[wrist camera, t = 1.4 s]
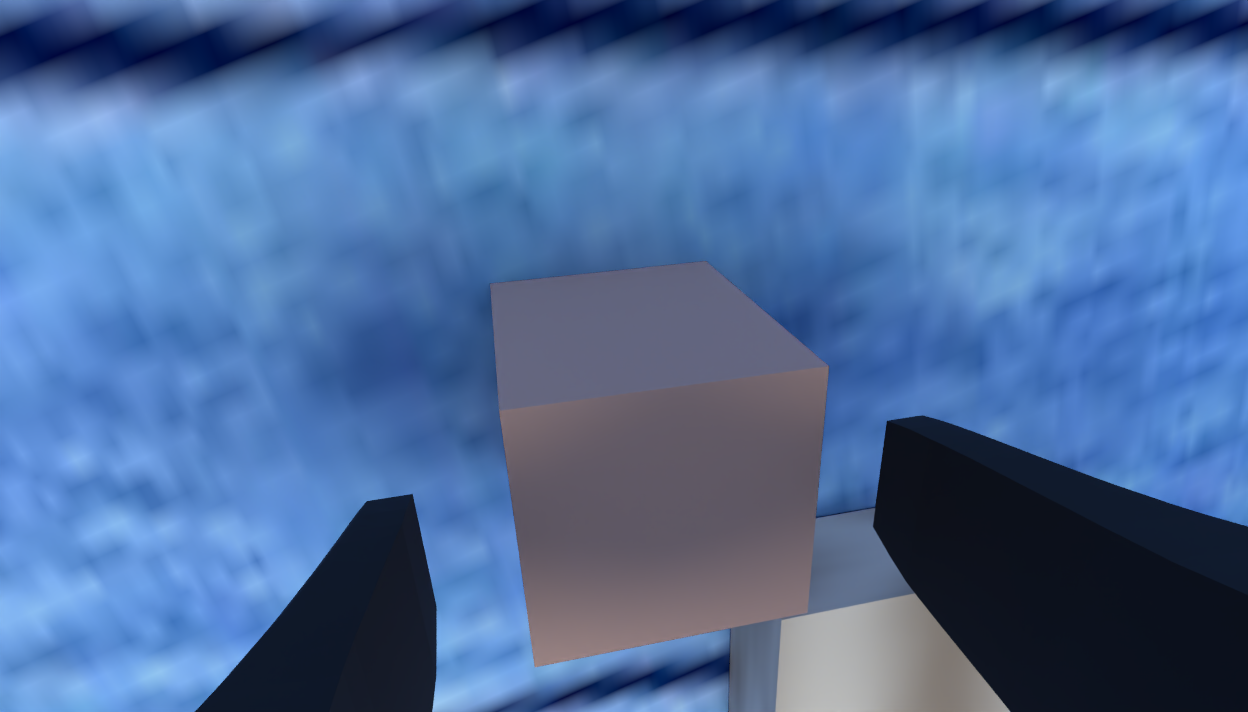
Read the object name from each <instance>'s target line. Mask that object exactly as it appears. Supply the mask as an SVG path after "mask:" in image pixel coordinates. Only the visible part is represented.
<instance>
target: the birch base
mask: <svg viewBox="0 0 1248 712" xmlns="http://www.w3.org/2000/svg"><path fill="white" fill-rule="evenodd" d="M874 514H875V508H871V509H865V510H860V511H854V512H848V513H843V514H837V515H831V516H826V517H820V518H816V521H815V533H814V544H813V555H812V567H811V578H810V590H809V601H808V612H807V613H804V614H799V615H794V616H789V617H784V618H779V619H774V620H769V621H764V622H759V623H754V624H749V625H744V626H739V627H734V628H731V640H730V677H729V712H1010V711H1009V709H1008V708H1007V707H1006V706H1005V704H1004V703H1003V702H1002V701H1001V699H1000V698H999V697H998V696H997V695H996V693H995V692H994V691H993V690H992V688H991V687H990V686H989V685H988V683H987V682H986V681H985V680H984V679H983V677H982V676H981V675H980V674H979V672H978V671H977V670H976V669H975V667H974V666H973V665H972V664H971V663H970V661H969V660H968V659H967V658H966V656H965V655H964V654H963V653H962V651H961V650H960V649H959V648H958V647H957V645H956V644H955V643H954V642H953V640H952V639H951V638H950V637H949V635H948V634H947V633H946V632H945V631H944V629H943V628H942V627H941V626H940V624H939V623H938V622H937V621H936V619H935V618H934V617H933V616H932V614H931V613H930V612H929V611H928V609H927V608H926V607H925V606H924V604H923V603H922V602H921V600H920V599H919V598H918V597H917V595H916V594H915V593H914V592H913V590H912V589H911V588H910V586H909V585H908V584H907V582H906V581H905V579H904V578H903V576H902V575H901V573H900V572H899V570H898V568H897V567H896V565H895V564H894V562H893V560H892V559H891V557H890V556H889V554H888V552H887V550H886V549H885V547H884V545H883V544H882V542H881V540H880V538H879V537H878V535H877V533H876V531H875V530H874V528H873V521H874Z"/></svg>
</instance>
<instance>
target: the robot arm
mask: <svg viewBox="0 0 1248 712" xmlns="http://www.w3.org/2000/svg"><path fill="white" fill-rule="evenodd" d="M873 528H874V530H875V531H876V533H877V535H878V537H879V538H880V540H881V542H882V544H883V545H884V547H885V549H886V550H887V552H888V554H889V556H890V557H891V559H892V560H893V562H894V564H895V565H896V567H897V568H898V570H899V572H900V573H901V575H902V576H903V578H904V579H905V581H906V582H907V584H908V585H909V586H910V588H911V589H912V590H913V592H914V593H915V594H916V595H917V597H918V598H919V599H920V600H921V602H922V603H923V604H924V606H925V607H926V608H927V609H928V611H929V612H930V613H931V614H932V616H933V617H934V618H935V619H936V621H937V622H938V623H939V624H940V626H941V627H942V628H943V629H944V631H945V632H946V633H947V634H948V635H949V637H950V638H951V639H952V640H953V642H954V643H955V644H956V645H957V647H958V648H959V649H960V650H961V651H962V653H963V654H964V655H965V656H966V658H967V659H968V660H969V661H970V663H971V664H972V665H973V666H974V667H975V669H976V670H977V671H978V672H979V674H980V675H981V676H982V677H983V679H984V680H985V681H986V682H987V683H988V685H989V686H990V687H991V688H992V690H993V691H994V692H995V693H996V695H997V696H998V697H999V698H1000V699H1001V701H1002V702H1003V703H1004V704H1005V706H1006V707H1007V708H1008V709H1009V711H1010V712H1248V527H1247V526H1244V525H1240V524H1237V523H1233V522H1230V521H1226V520H1222V519H1219V518H1215V517H1212V516H1208V515H1205V514H1202V513H1198V512H1195V511H1192V510H1189V509H1186V508H1182V507H1179V506H1176V505H1173V504H1170V503H1167V502H1164V501H1161V500H1158V499H1155V498H1152V497H1149V496H1146V495H1143V494H1140V493H1137V492H1134V491H1131V490H1128V489H1125V488H1123V487H1120V486H1117V485H1114V484H1111V483H1108V482H1105V481H1103V480H1100V479H1097V478H1094V477H1092V476H1089V475H1086V474H1083V473H1081V472H1078V471H1075V470H1073V469H1070V468H1067V467H1065V466H1062V465H1059V464H1057V463H1054V462H1051V461H1049V460H1046V459H1043V458H1041V457H1038V456H1036V455H1033V454H1030V453H1028V452H1025V451H1023V450H1020V449H1017V448H1015V447H1012V446H1009V445H1007V444H1004V443H1002V442H999V441H996V440H994V439H991V438H989V437H986V436H983V435H981V434H978V433H975V432H972V431H970V430H967V429H964V428H961V427H958V426H956V425H953V424H950V423H947V422H944V421H940V420H937V419H934V418H930V417H926V416H915V417H909V418H902V419H896V420H890V421H887V424H886V432H885V439H884V447H883V454H882V462H881V469H880V477H879V484H878V492H877V499H876V506H875V514H874V521H873ZM436 645H437V643H436V602H435V598H434V593H433V588H432V583H431V579H430V574H429V569H428V565H427V560H426V555H425V551H424V546H423V541H422V536H421V532H420V527H419V522H418V518H417V513H416V508H415V503H414V499H413V494H410V495H404V496H398V497H391V498H385V499H378V500H372V501H367V502H366V503H365V504H364V505H363V506H362V508H361V509H360V510H359V511H358V513H357V514H356V515H355V517H354V518H353V519H352V521H351V522H350V523H349V525H348V526H347V528H346V529H345V530H344V532H343V533H342V534H341V536H340V537H339V539H338V540H337V541H336V543H335V544H334V545H333V547H332V548H331V549H330V551H329V552H328V554H327V555H326V556H325V558H324V559H323V560H322V562H321V563H320V564H319V566H318V567H317V568H316V570H315V571H314V572H313V574H312V575H311V576H310V577H309V579H308V580H307V581H306V582H305V584H304V585H303V586H302V588H301V589H300V590H299V591H298V593H297V594H296V595H295V597H294V598H293V599H292V600H291V602H290V603H289V604H288V605H287V607H286V608H285V609H284V611H283V612H282V613H281V614H280V616H279V617H278V618H277V619H276V620H275V622H274V623H273V624H272V625H271V627H270V628H269V629H268V630H267V631H266V632H265V634H264V635H263V636H262V637H261V638H260V639H259V641H258V642H257V643H256V644H255V645H254V646H253V647H252V649H251V650H250V651H249V652H248V653H247V654H246V656H245V657H244V658H243V659H242V660H241V661H240V663H239V664H238V665H237V666H236V667H235V668H234V669H233V671H232V672H231V673H230V674H229V675H228V676H227V678H226V679H225V680H224V681H223V682H222V683H221V684H220V685H219V686H218V688H217V689H216V690H215V691H214V692H213V693H212V694H211V695H210V696H209V697H208V698H207V699H206V701H205V702H204V703H203V704H202V705H201V706H200V707H199V708H198V709H197V710H196V711H195V712H432V708H433V700H434V691H435V682H436Z"/></svg>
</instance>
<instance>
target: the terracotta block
mask: <svg viewBox="0 0 1248 712" xmlns="http://www.w3.org/2000/svg"><path fill="white" fill-rule="evenodd" d="M490 289H491V303H492V317H493V331H494V346H495V360H496V374H497V388H498V402H499V413H500V421H501V428H502V435H503V442H504V449H505V457H506V464H507V471H508V478H509V485H510V492H511V500H512V507H513V514H514V521H515V528H516V535H517V543H518V550H519V557H520V564H521V571H522V578H523V586H524V593H525V600H526V607H527V614H528V621H529V629H530V636H531V643H532V650H533V657H534V665H535V667H539V666H544V665H549V664H554V663H559V662H564V661H569V660H574V659H579V658H584V657H589V656H594V655H599V654H604V653H609V652H614V651H619V650H624V649H629V648H634V647H639V646H644V645H649V644H654V643H659V642H664V641H669V640H674V639H679V638H684V637H689V636H694V635H699V634H704V633H709V632H714V631H719V630H724V629H729V628H734V627H739V626H744V625H749V624H754V623H759V622H764V621H769V620H774V619H779V618H784V617H789V616H794V615H799V614H804V613H807V612H808V601H809V590H810V578H811V567H812V555H813V544H814V533H815V521H816V510H817V498H818V487H819V475H820V464H821V453H822V441H823V430H824V418H825V407H826V395H827V384H828V373H829V366H828V365H827V364H826V363H825V362H824V361H822V360H821V359H820V358H819V357H818V356H817V355H815V354H814V353H813V352H812V351H811V350H810V349H808V348H807V347H806V346H805V345H804V344H803V343H801V342H800V341H799V340H798V339H797V338H796V337H794V336H793V335H792V334H791V333H790V332H789V331H787V330H786V329H785V328H784V327H783V326H781V325H780V324H779V323H778V322H777V321H776V320H774V319H773V318H772V317H771V316H770V315H769V314H767V313H766V312H765V311H764V310H763V309H762V308H760V307H759V306H758V305H757V304H756V303H755V302H753V301H752V300H751V299H750V298H749V297H748V296H746V295H745V294H744V293H743V292H742V291H740V290H739V289H738V288H737V287H736V286H735V285H733V284H732V283H731V282H730V281H729V280H728V279H726V278H725V277H724V276H723V275H722V274H721V273H719V272H718V271H717V270H716V269H715V268H714V267H712V266H711V265H710V264H709V263H708V262H707V261H701V262H692V263H682V264H673V265H663V266H654V267H644V268H635V269H625V270H615V271H606V272H596V273H587V274H577V275H568V276H558V277H548V278H539V279H529V280H520V281H510V282H501V283H491V284H490Z"/></svg>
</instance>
